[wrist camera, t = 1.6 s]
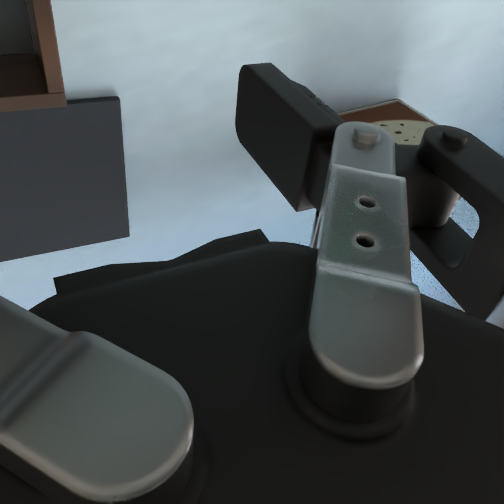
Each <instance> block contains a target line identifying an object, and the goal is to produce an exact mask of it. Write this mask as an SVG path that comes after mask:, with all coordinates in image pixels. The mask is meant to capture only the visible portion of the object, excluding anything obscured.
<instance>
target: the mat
mask: <svg viewBox="0 0 504 504" xmlns="http://www.w3.org/2000/svg"><path fill="white" fill-rule="evenodd" d="M66 103H67V106H65V107H53V108H42V109H31V110H19V111H8V112H0V262H3V261H8V260H13V259H18V258H23V257H28V256H33V255H38V254H43V253H49V252H54V251H59V250H64V249H69V248H74V247H79V246H84V245H89V244H94V243H99V242H105V241H110V240H115V239H120V238H125V237H129V236H130V234H129V220H128V206H127V192H126V178H125V164H124V150H123V136H122V122H121V108H120V99H119V97H118V96H117V97H105V98H93V99H81V100H69V101H66Z"/></svg>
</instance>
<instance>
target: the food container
mask: <svg viewBox="0 0 504 504" xmlns="http://www.w3.org/2000/svg"><path fill="white" fill-rule="evenodd" d="M336 114H337V115H339V116H340V117H341V118H342V119H343V120H344V121H345V122H356V121H357V122H366V123H370V124H374V125H377V126H379V127H381V128H383V129H385V130H386V131H388V132H389V133H390V134H391V135H392V136H393V138H394V141H395V144H407V145H419V144H420V142H421V139H422V136H423V134H424V131H425V130H426V129H427V128H428V127H431V126H436V125H438V124H437V123H435V122H433V121H432V120H430V119H429V118H427V117H426V116H424V115H423V114H421V113H420V112H418V111H417V110H415V109H413V108H412V107H410V106H409V105H407V104H406V103H404V102H403V101H401V100H400V99H396V100H392V101H388V102H383V103H379V104H375V105H370V106H366V107H362V108H357V109H353V110H349V111H344V112H340V113H336ZM460 198H461V196H459V198H458V200H459V199H460ZM458 200H457V201H458Z"/></svg>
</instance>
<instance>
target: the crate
mask: <svg viewBox="0 0 504 504" xmlns="http://www.w3.org/2000/svg"><path fill="white" fill-rule="evenodd" d="M25 2H26V7H27V12H28V18H29V23H30V28H31V34H32V39H33V44H34V49H35V54H15V55H0V112H8V111H19V110H31V109H42V108H53V107H65V106H67V103H66V97H65V92H64V91H65V90H64V84H63V77H62V71H61V65H60V58H59V52H58V45H57V39H56V32H55V26H54V19H53V13H52V6H51V0H25Z"/></svg>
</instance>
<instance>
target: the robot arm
mask: <svg viewBox="0 0 504 504" xmlns="http://www.w3.org/2000/svg"><path fill="white" fill-rule="evenodd" d="M235 126H236V133H237V136H238V139H239V141H240V143H241V144H242V145H243V147H244V148H245V149H246V150H247V152H248V153H249V154H250V155H251V156H252V158H253V159H254V160H255V161H256V163H257V164H258V165H259V166H260V168H261V169H262V170H263V171H264V172H265V174H266V175H267V176H268V177H269V179H270V180H271V181H272V182H273V184H274V185H275V186H276V187H277V188H278V190H279V191H280V192H281V193H282V195H283V196H284V197H285V198H286V200H287V201H288V202H289V203H290V204H291V206H292V207H293V208H294V209H295V211H296V212H299V211H303V210H308V209H312V208H316V209H317V210H316V214H315V219H314V223H313V229H312V234H311V240H310V245H309V247H308V246H304V245H300V244H295V243H288V242H269V240H268V239H267V237H266V236H265V235H264V233H263V232H262V230H261V229H257V230H253V231H249V232H244V233H240V234H236V235H232V236H228V237H223V238H219V239H215V240H213V241H211V242H209V243H207V244H205V245H202V246H200V247H198V248H196V249H194V250H192V251H190V252H188V253H186V254H183V255H181V256H179V257H177V258H175V259H172V260H169V261H159V262H141V263H124V264H110V265H105V266H101V267H97V268H93V269H89V270H84V271H80V272H76V273H72V274H67V275H63V276H59V277H55V278H53V279H54V284H55V288H56V292H57V294H56V295H54V296H52V297H50V298H48V299H46V300H44V301H43V302H41V303H39V304H37V305H36V306H34V307H33V308H31V309H30V310H29V311H28V310H26V309H24V308H22V307H20V306H18V305H17V304H15V303H13V302H11V301H9V300H7V299H6V298H4V297H2V296H0V504H504V158H503V157H502V156H501V155H499V154H498V153H497V152H495V151H494V150H493V149H491V148H490V147H489V146H487V145H486V144H485V143H483V142H482V141H481V140H479V139H478V138H477V137H475V136H474V135H472V134H470V133H469V132H467V131H464V130H462V129H459V128H456V127H451V126H445V125H436V126H431V127H428V128H427V129H426V130H425V131H424V134H423V136H422V139H421V142H420V144H419V145H407V144H395V141H394V138H393V136H392V135H391V134H390V133H389V132H388V131H386V130H385V129H383V128H381V127H379V126H377V125H374V124H370V123H366V122H357V121H356V122H345V121H344V120H343V119H342V118H341V117H340V116H339V115H337V114H336V113H335V112H334V111H333V110H332V109H330V108H329V107H328V106H327V105H324V102H322V101H321V100H320V99H319V98H316V96H315V95H314V94H313V93H312V92H311V91H310V90H309V89H307V88H306V87H305V86H303V85H301V84H299V83H296V82H294V81H292V80H290V79H289V78H288V77H287V76H286V75H284V74H283V73H282V72H281V71H280V70H279V69H278V68H276V67H275V66H274V65H273V64H272V63H260V64H249V65H243V66H242V67H241V69H240V73H239V81H238V93H237V106H236V118H235ZM459 196H461V197H462V198H463V199H465V200H466V201H467V202H468V203H469V204H470V205H471V206H472V207H474V209H475V210H476V211H477V213H478V216H479V220H480V224H479V229H478V231H477V233H476V234H475V236H474V238H473V239H472V238H471V237H470V236H469V235H468V234H467V233H466V232H465V231H464V230H463V229H462V228H461V227H460V226H459V225H458V224H457V223H455V222H454V221H453V220H452V219H451V218H450V217H449V216H450V214H451V212H452V210H453V208H454V206H455V204H456V202H457V200H458V198H459ZM410 250H411V251H412V252H413V253H414V254H415V255H416V257H417V258H418V259H419V260H420V261H421V262H422V263H423V264H424V266H425V267H426V268H427V269H428V270H429V271H430V272H431V273H432V275H433V276H434V277H435V278H436V279H437V280H438V281H439V282H440V284H441V285H442V286H443V287H444V288H445V289H446V290H447V291H448V293H449V294H450V295H451V296H452V297H453V298H454V299H455V300H456V302H457V303H458V304H459V305H460V306H461V307H462V308H463V309H464V310H465V312H463V311H461V310H459V309H456V308H454V307H452V306H449V305H447V304H445V303H442V302H440V301H437V300H435V299H433V298H430V297H428V296H426V295H423V294H421V293H420V291H419V288H418V286H417V285H416V284H413V282H412V279H411V262H410Z"/></svg>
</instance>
